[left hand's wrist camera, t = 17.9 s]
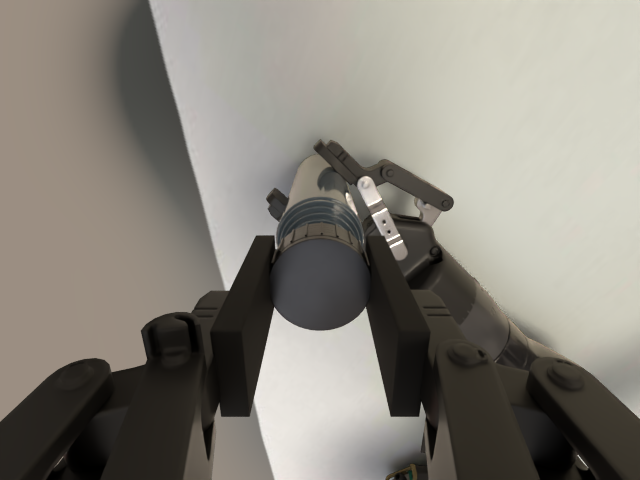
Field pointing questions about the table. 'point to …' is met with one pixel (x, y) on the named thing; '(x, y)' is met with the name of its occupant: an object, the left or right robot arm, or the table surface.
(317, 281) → the cap
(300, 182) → the bottle
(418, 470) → the spray gun
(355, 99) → the table surface
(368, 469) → the table surface
